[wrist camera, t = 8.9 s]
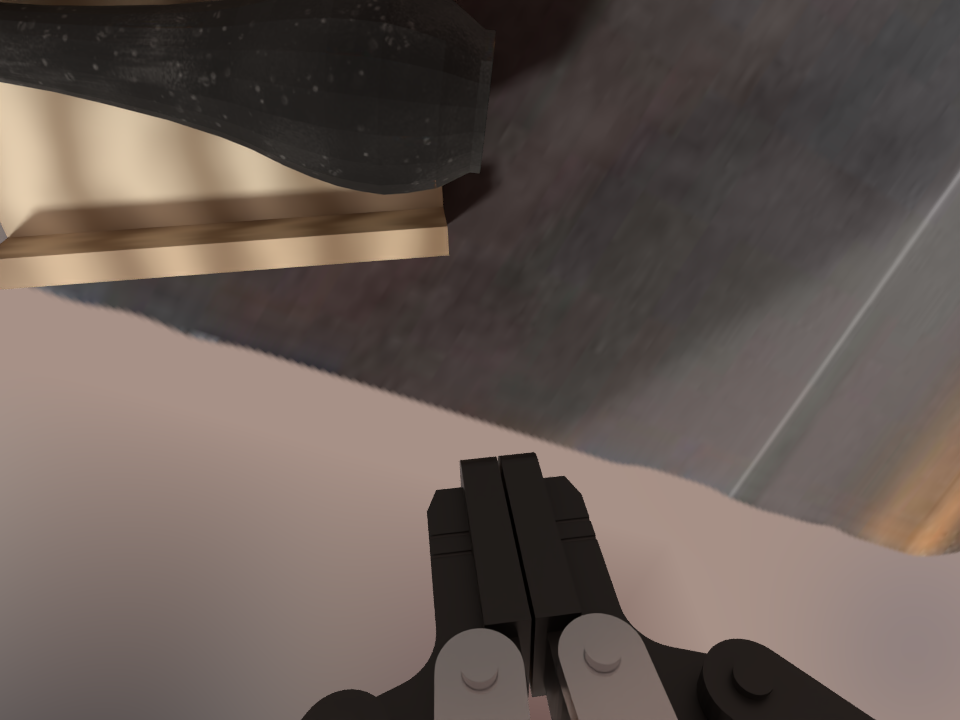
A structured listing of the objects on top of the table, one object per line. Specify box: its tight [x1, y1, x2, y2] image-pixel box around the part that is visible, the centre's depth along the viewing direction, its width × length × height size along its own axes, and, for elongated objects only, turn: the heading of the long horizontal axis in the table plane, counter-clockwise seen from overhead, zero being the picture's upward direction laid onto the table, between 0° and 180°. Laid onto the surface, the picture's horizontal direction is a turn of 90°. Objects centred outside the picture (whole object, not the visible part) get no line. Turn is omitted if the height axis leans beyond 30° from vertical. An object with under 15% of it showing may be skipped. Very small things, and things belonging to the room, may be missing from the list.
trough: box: [0, 0, 449, 289], centre depth 38 cm, size 28×18×4 cm, turn 91°
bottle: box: [0, 0, 496, 195], centre depth 34 cm, size 11×11×30 cm
